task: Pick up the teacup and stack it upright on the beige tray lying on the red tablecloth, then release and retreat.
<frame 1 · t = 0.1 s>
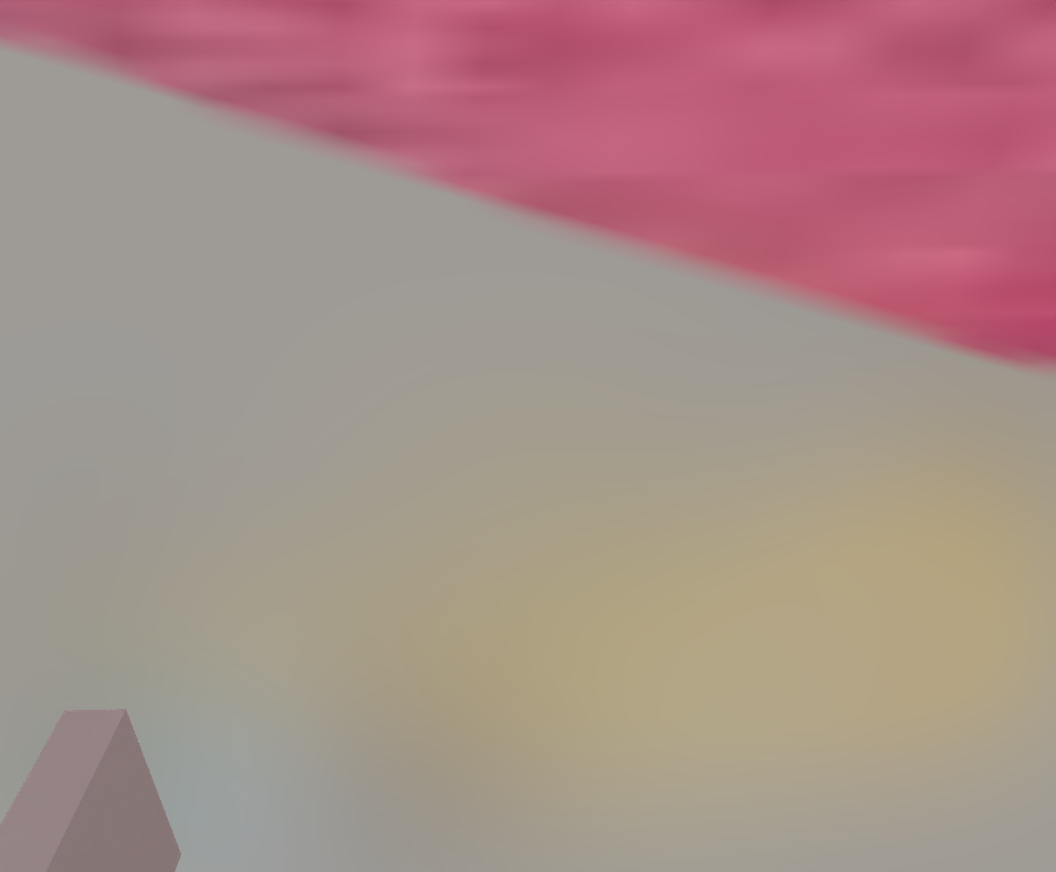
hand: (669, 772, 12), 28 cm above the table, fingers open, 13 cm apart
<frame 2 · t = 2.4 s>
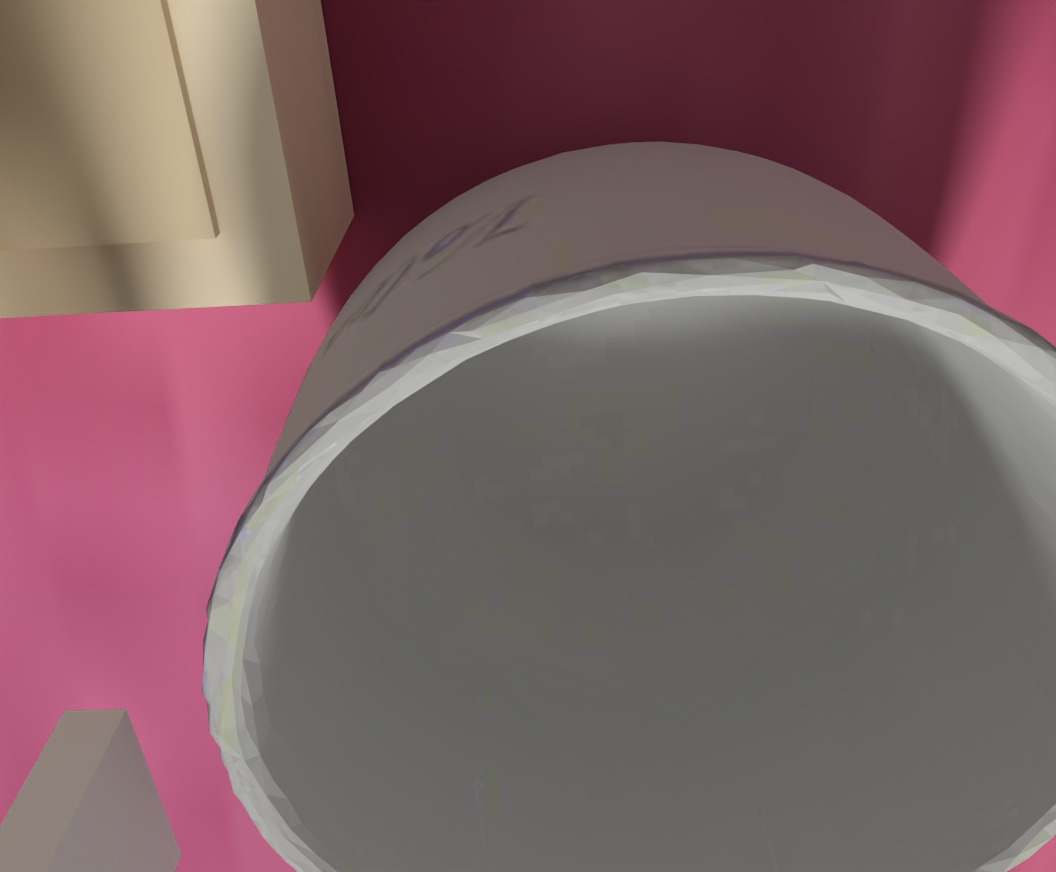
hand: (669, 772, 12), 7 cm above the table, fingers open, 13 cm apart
teacup: (607, 456, 19), on the table
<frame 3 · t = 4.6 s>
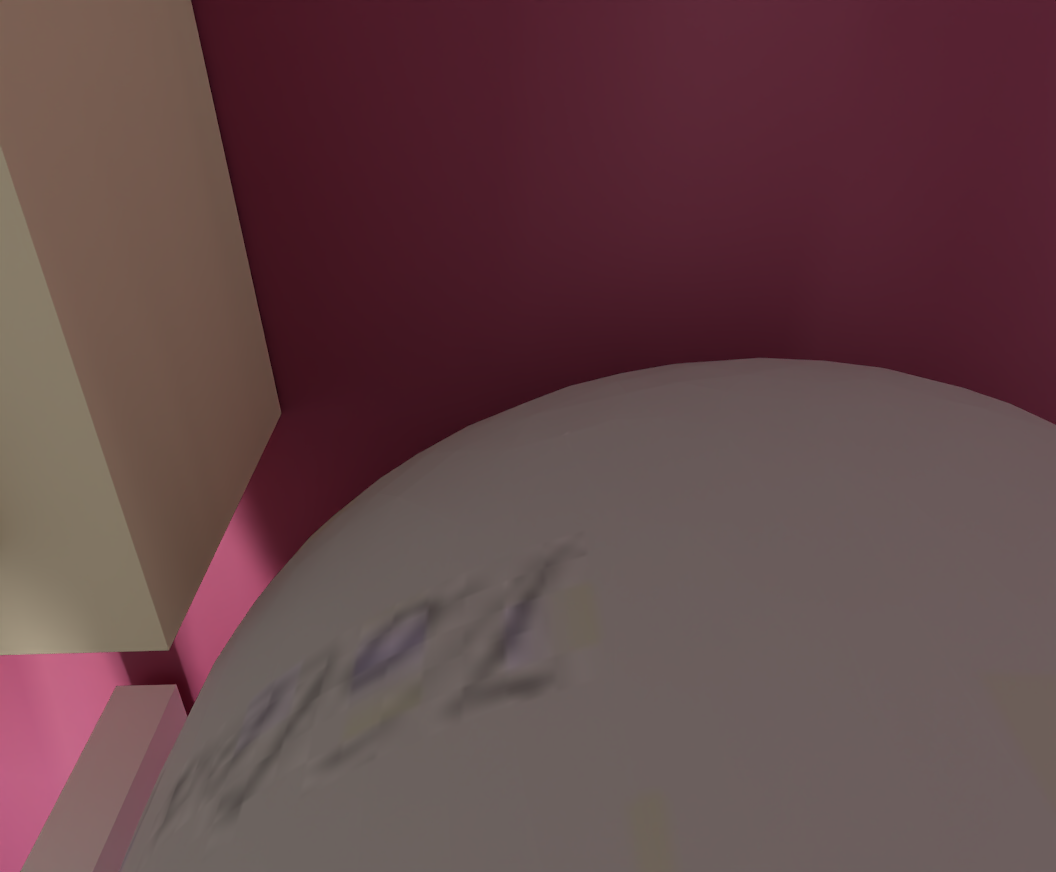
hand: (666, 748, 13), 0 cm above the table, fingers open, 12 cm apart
teacup: (662, 724, 13), on the table, touching gripper
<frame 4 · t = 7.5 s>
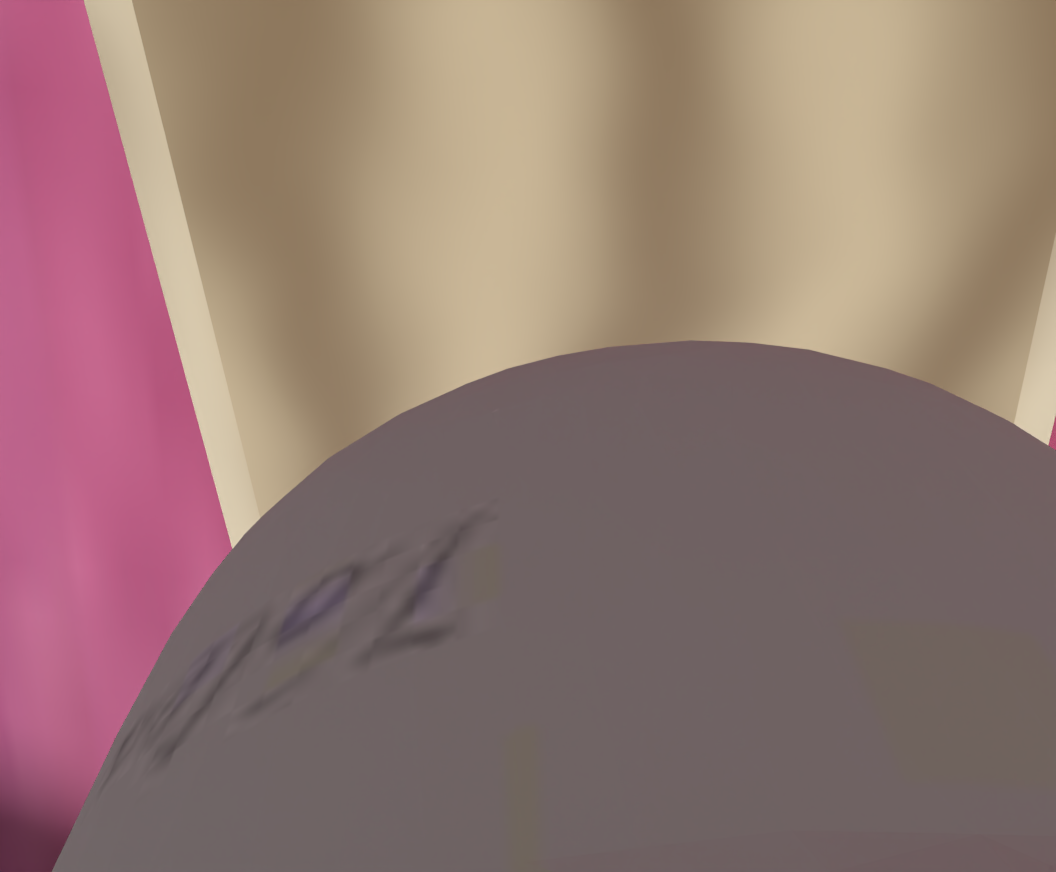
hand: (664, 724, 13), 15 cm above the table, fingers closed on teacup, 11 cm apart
teacup: (625, 703, 13), point 14 cm above the table, touching gripper
beige tray: (611, 283, 25), on the table
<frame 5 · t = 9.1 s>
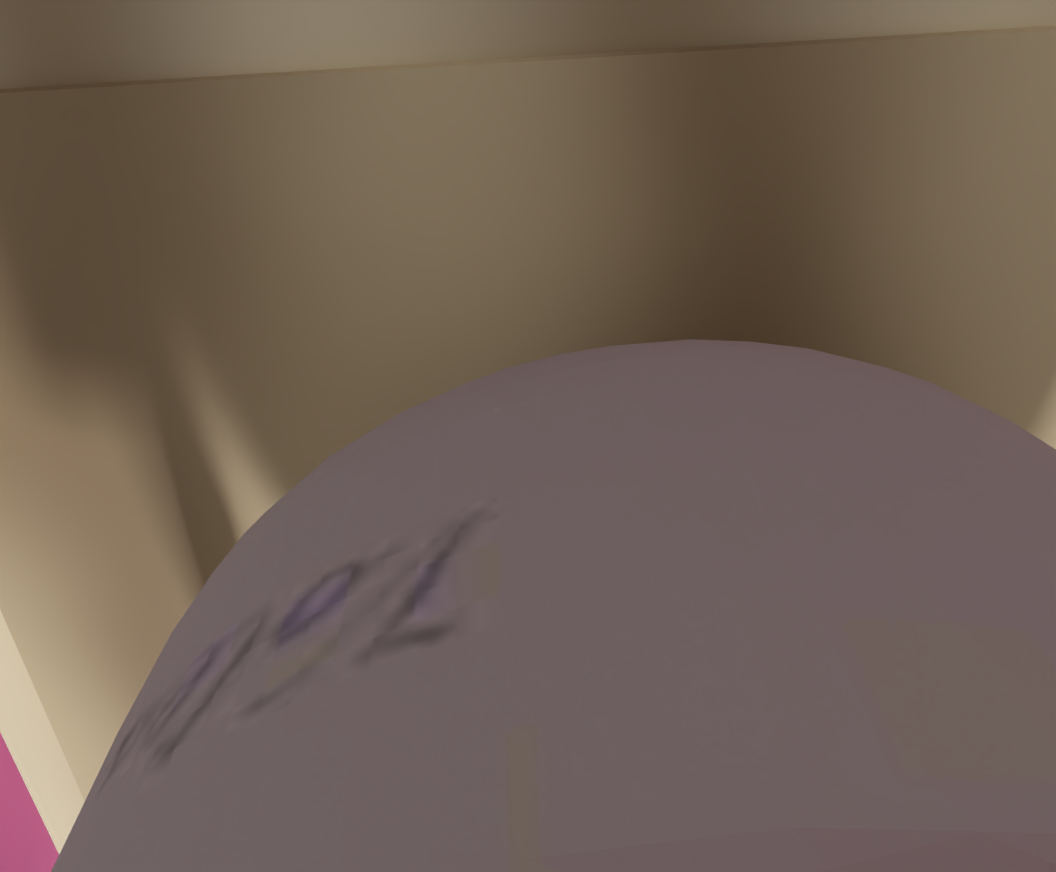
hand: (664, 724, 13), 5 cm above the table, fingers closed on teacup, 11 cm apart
teacup: (625, 703, 13), point 4 cm above the table, touching gripper
beige tray: (639, 504, 17), on the table
when the fingers open (5 cm above the table, at t = 10.2 s): teacup stays where it is, resting on beige tray.
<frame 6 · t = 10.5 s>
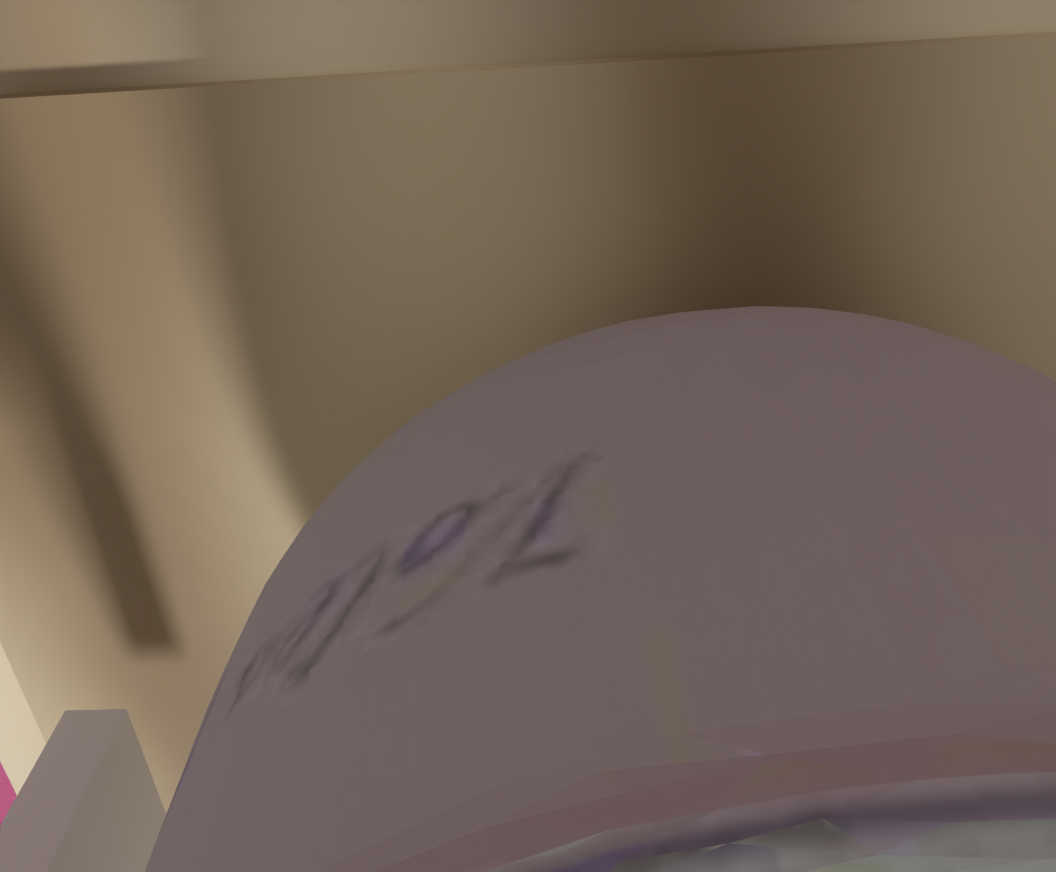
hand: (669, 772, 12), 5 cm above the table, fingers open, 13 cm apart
teacup: (667, 666, 14), point 4 cm above the table, touching beige tray
beige tray: (640, 513, 17), on the table
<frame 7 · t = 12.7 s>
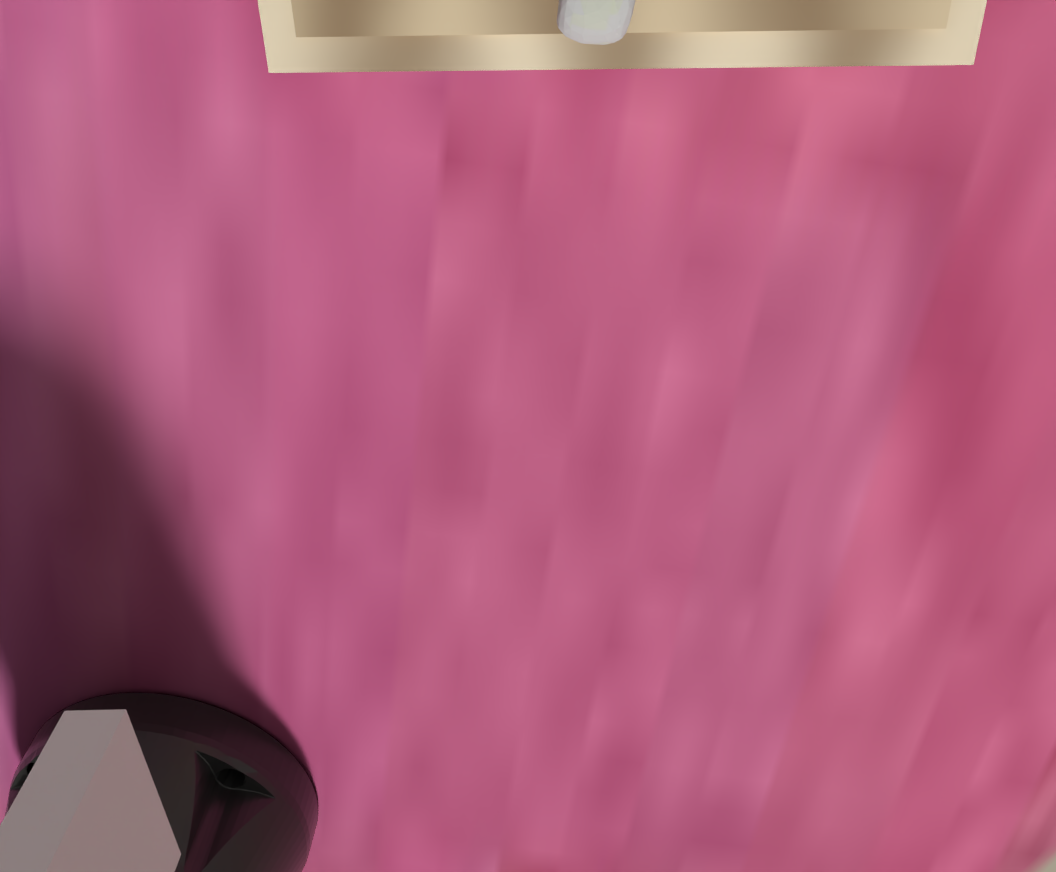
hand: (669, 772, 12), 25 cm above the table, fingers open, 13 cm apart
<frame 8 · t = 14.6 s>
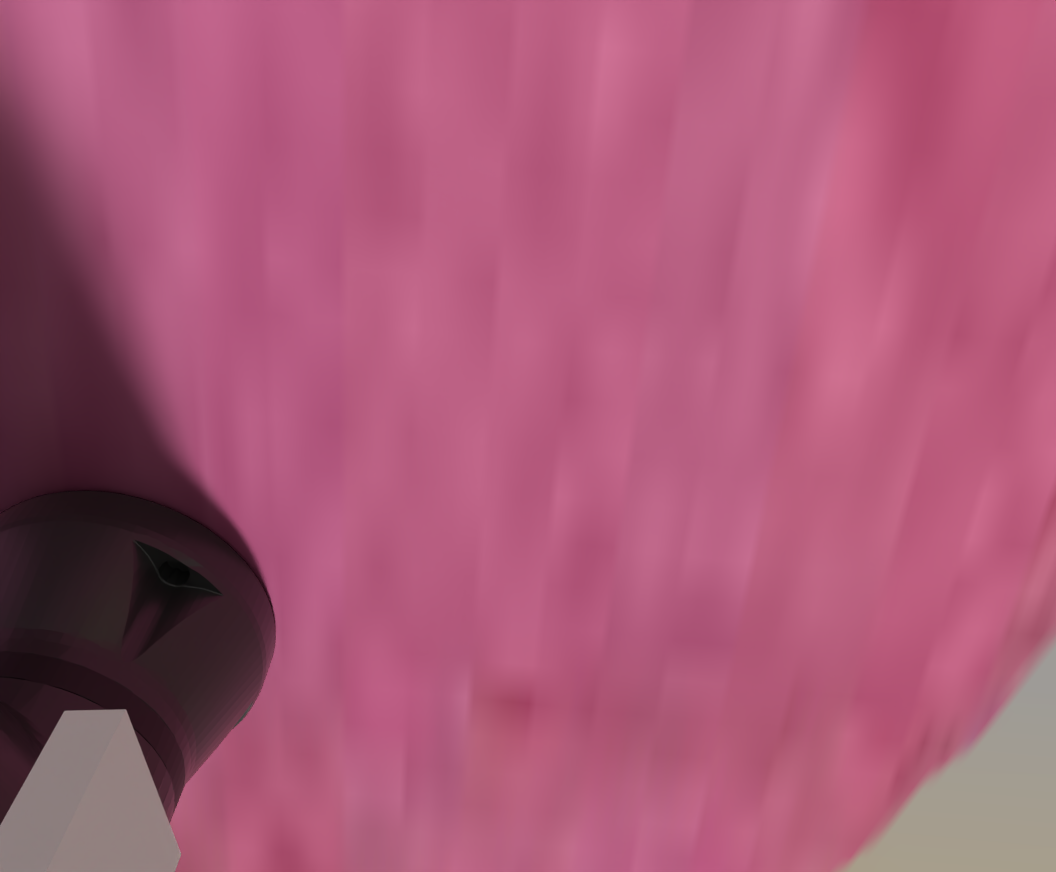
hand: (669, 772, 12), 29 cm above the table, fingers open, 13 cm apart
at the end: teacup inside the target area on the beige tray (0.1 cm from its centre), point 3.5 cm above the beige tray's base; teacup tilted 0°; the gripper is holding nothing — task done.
